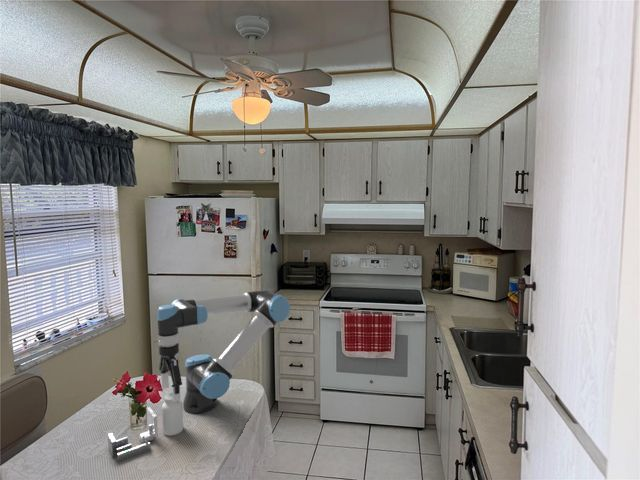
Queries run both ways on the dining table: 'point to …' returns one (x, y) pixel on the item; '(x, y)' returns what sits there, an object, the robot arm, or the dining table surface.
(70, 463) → the dining table surface
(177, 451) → the dining table surface
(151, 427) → the white l-shaped bracket
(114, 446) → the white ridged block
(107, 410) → the dining table surface
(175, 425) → the pill bottle
